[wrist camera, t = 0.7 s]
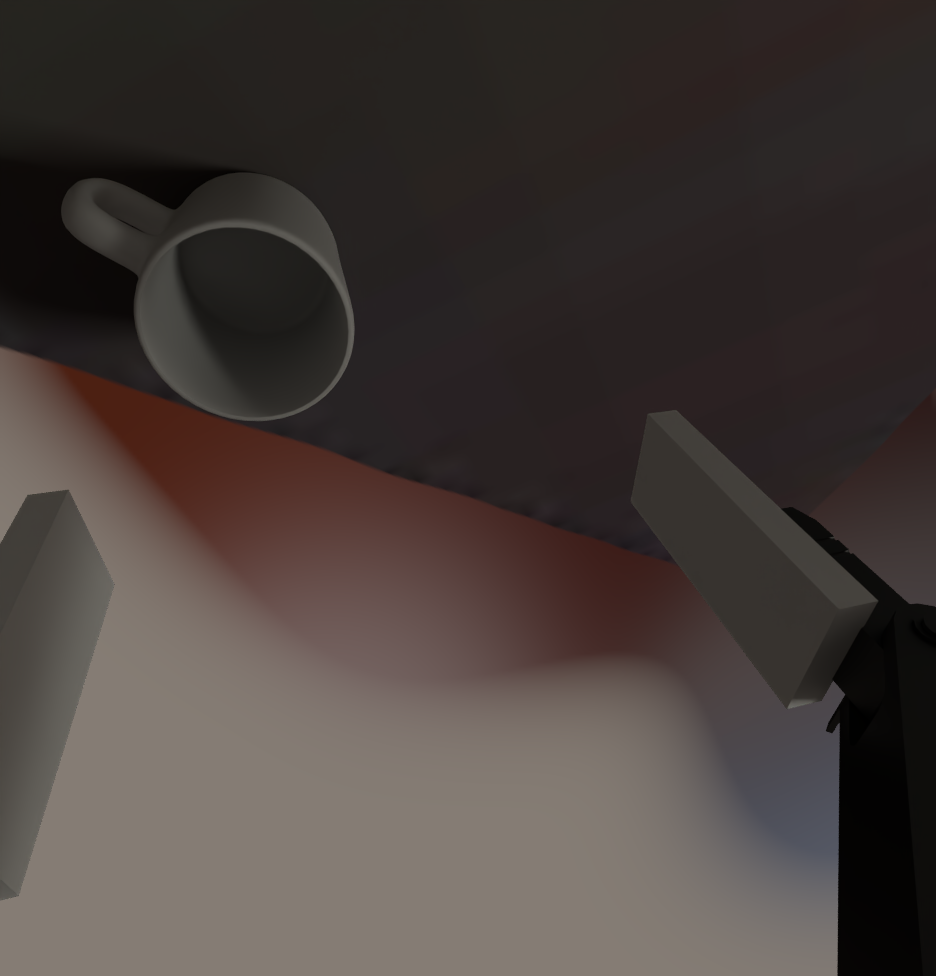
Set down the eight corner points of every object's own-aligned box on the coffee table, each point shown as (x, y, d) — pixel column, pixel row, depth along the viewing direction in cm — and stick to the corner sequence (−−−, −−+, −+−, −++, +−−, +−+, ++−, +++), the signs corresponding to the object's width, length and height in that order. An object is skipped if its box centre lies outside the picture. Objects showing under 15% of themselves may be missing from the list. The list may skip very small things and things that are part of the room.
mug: (366, 232, 34) (394, 294, 25) (295, 359, 37) (299, 453, 28) (135, 83, 28) (69, 97, 19) (74, 249, 31) (-8, 325, 22)
